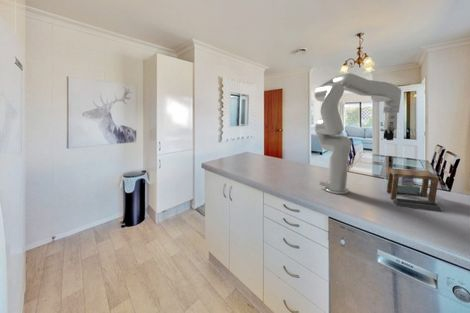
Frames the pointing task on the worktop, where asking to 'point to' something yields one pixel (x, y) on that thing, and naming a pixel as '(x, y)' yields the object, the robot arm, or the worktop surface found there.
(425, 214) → the worktop surface
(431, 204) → the dark grey flat slab
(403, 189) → the grey-green low block
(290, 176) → the worktop surface
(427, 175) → the tunnel
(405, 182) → the medicine box
